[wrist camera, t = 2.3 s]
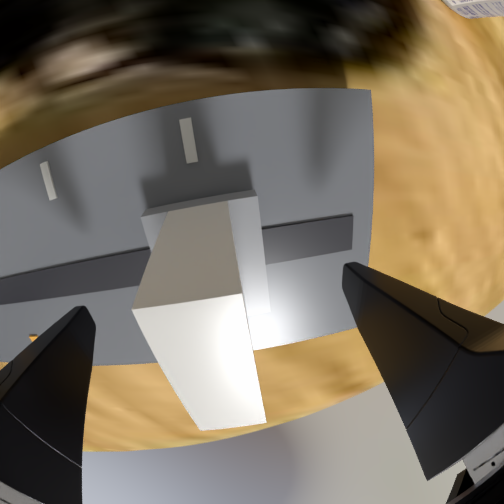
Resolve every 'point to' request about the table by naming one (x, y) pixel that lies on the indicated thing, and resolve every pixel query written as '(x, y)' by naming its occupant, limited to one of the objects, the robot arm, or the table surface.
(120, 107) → the table surface
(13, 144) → the table surface
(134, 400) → the table surface
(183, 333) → the fader tab
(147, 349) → the fader console
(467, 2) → the energy drink
